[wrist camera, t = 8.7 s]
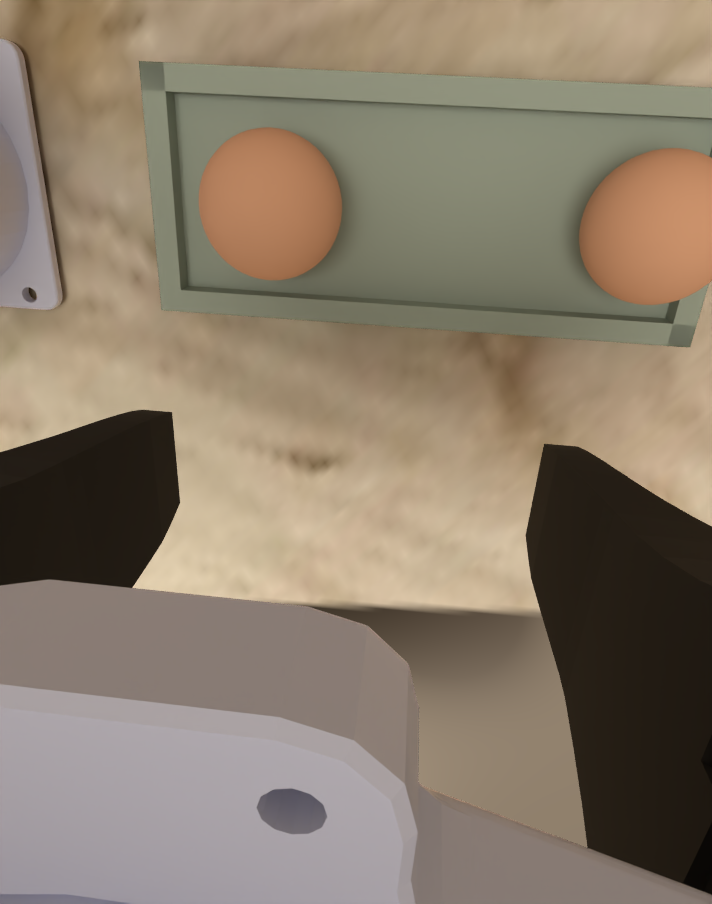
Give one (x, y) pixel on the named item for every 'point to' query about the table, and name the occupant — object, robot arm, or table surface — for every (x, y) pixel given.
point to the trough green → (422, 195)
